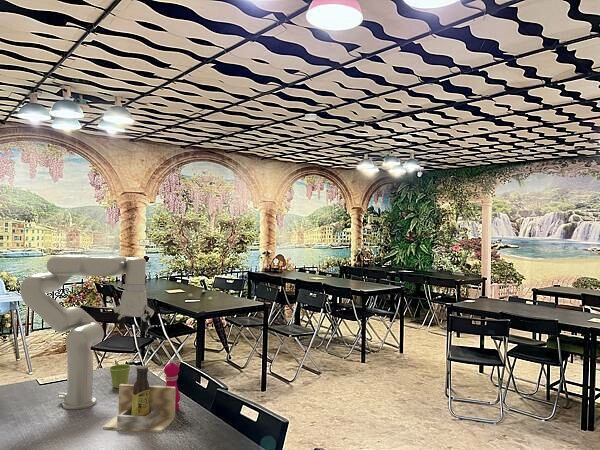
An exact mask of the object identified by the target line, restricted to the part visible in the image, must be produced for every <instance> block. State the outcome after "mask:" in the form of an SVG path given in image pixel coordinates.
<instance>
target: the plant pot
mask: <svg viewBox="0 0 600 450" xmlns="http://www.w3.org/2000/svg"><path fill="white" fill-rule="evenodd" d="M131 368H132V366H131V364H127V363H126V364H125V363H123V364H115V365H112V366H110V367H109V368H108V369H109V371H110V376H111V384H112V387H113V388H115V389H119V385H120V384H128V380H129V374H130V370H131Z"/></svg>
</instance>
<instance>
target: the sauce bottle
mask: <svg viewBox="0 0 600 450" xmlns="http://www.w3.org/2000/svg"><path fill="white" fill-rule="evenodd" d="M148 371H149V367H148V366H146V365H143V366H142V365H140V366H137V367H136V380H135V382H134V383H133V385H134V386H133V393H132V411H131V416H147V415H148V414H149V403H150V387H149V385H150V384H149V381H148Z"/></svg>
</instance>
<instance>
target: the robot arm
mask: <svg viewBox="0 0 600 450" xmlns="http://www.w3.org/2000/svg"><path fill="white" fill-rule="evenodd" d="M146 269H147V261H146V258H144V257H129V256H124V255H120V256H119V255H118V256H108V257H106V256H103V257H101V256H100V257H99V256H97V257H95V256H91V257H90V256H89V255H87V254H80V255H79V254H57V255H53V256H52V257H50V258H49V259H48V260H47V262H46V271H48V272H42V273H35V274H31V275H29V276H27V277H25V278H24V279H23V280H22V282H21V285H20V297H21V299H22V301H23V303H24V304H25V305H26V306H27V307H28V308H29V309H31V310H32V311H33V312H34V313H35V314H37V316H39V317H40V319H42V321H44V322H45V323H46V324H48V326H49V327H50V328H52V330H54V331H56V333H59V334H63V333H66V332H69V333H68V334H67V335H66V337H65V348H66V353H67V373H66V374H67V377H66V378H67V380H66V382H67V383H66V392H59V394H58V400H63V402H62V408H63V409H66V410H81V409H87V408H89V407H92V406H94V405H95V404H96V403H97V398H96V397H95V396H93V385H94V384H93V382H94V380H93V379H94V377H93V376H94V357H93V353H92V350H91V347H94V346H95V345H98V344H100V343H101V342H102V340H103V339H104V336H105V332H104V329H103V327H102V325H101V324H100V323H99V322H98V321H96V320H95V318H94V317H92V316H91V315H90V314H89V313H87V311H85V310H84V309H83V308H81V307H78V306H70V307H65V306H63V305H61V304H60V303H59V302H58V301H57V300H56V299H55V298H53V297H51V296H49V295H47V293H53V292H56V291H58V290H59V289H60V288H62V287H63V285H64V284H66V283H67V282H68V281H69V280H70V279H71V278H72V277H73V276H74V277H75V276H78V277H79V276H83V277H88V276H89V277H113V276H119V275H125V282H124V283H125V284H122V288H124V290H123V291H122V294H121V297H120V302H119V305H118V306H115V307H114V308H113V312H114V313H115V316H116V318H117V320H118V329H119V330H125V328H126V326H125V325H126V318H125V317H132V318H141V320H142V321H141V327H140V328H141V329H140V330H141V332H146V331H147V329H148V323H149V322H148V321H149V320H150V319H152V317H153V315H154V313H155V310H154V309H152V308H151V307H149V306H148V297H147V291H146V290H145V288H146V287H145V284H146ZM147 313H148V314H147Z"/></svg>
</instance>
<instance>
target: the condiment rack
mask: <svg viewBox="0 0 600 450" xmlns="http://www.w3.org/2000/svg"><path fill="white" fill-rule="evenodd" d="M133 386H134V384H128V383H127V384H120V385H119V388H118V414H117V415H116V416H115V417H113V418H112V419H111V420H109V421H108V422H107V423H105V425H103V426H102V430H114V431H128V432H129V431H130V432H144V433H145V432H147V433H158V434H159V433H163V432H164V431H165V429H166V428H168V426H170V424H171V423H173V421H174V420H175V419H176V411H175V394H176V387H170V386H166V385H150V384H149V387H150V403H149V414H148V415H147V416H131V411H132V393H133Z"/></svg>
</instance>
